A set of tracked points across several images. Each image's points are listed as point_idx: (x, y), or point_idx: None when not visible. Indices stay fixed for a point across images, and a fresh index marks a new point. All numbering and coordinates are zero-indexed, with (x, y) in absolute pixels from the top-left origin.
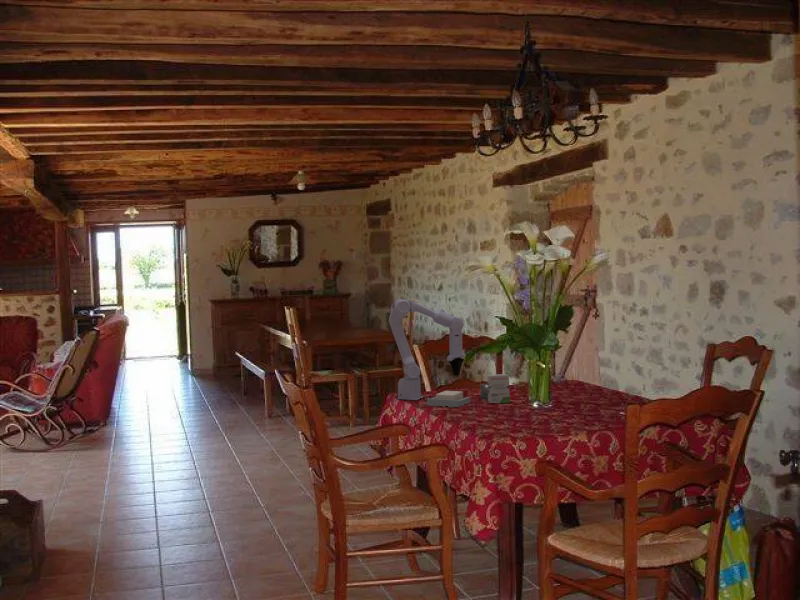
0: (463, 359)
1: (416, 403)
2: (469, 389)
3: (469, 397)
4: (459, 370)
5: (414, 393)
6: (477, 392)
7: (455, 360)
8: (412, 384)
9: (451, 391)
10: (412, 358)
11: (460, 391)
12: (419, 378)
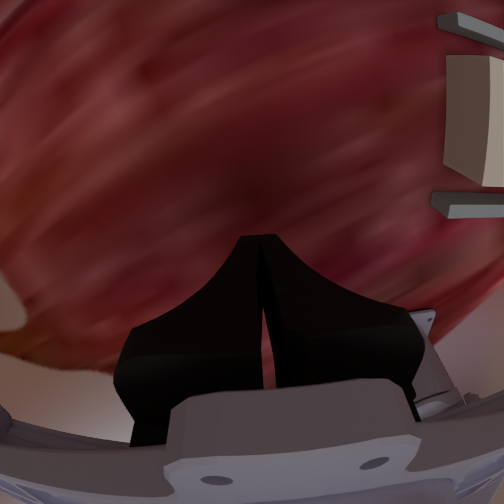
0: (165, 346)
1: (488, 271)
2: (18, 242)
3: (461, 13)
4: (256, 256)
5: (429, 342)
6: (57, 145)
7: (412, 392)
8: (450, 378)
9: (501, 136)
10: (495, 494)
11: (490, 74)
12: (434, 396)
